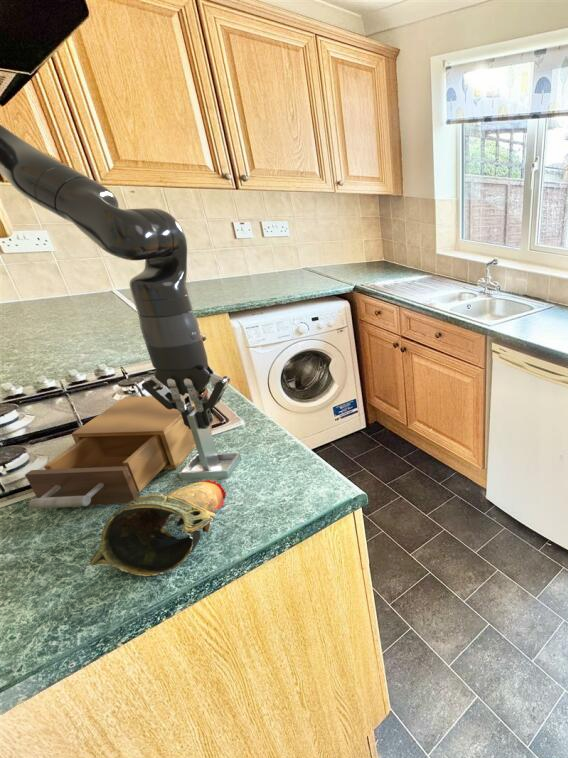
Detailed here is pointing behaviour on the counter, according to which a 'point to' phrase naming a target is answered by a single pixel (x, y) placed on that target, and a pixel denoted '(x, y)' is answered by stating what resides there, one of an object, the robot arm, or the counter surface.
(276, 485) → the counter surface
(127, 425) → the cabinet
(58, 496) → the drawer
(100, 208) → the robot arm
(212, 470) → the inverted t stand
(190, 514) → the pot
